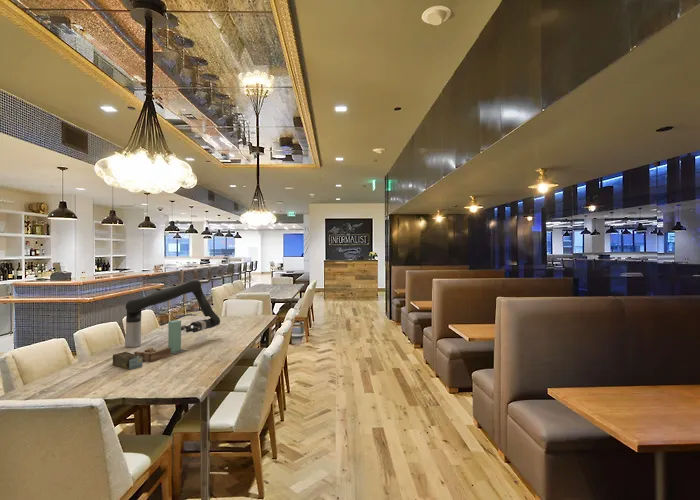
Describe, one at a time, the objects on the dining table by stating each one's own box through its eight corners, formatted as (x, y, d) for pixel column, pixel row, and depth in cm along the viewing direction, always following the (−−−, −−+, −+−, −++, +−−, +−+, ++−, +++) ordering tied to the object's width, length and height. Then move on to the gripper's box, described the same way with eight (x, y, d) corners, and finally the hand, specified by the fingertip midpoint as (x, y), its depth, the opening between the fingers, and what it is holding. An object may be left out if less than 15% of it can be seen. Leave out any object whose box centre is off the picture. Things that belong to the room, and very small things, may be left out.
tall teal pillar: (168, 352, 251) (168, 322, 251) (176, 349, 258) (176, 320, 258) (173, 352, 250) (173, 322, 250) (180, 350, 257) (181, 320, 257)
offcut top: (144, 354, 237) (144, 350, 237) (147, 351, 243) (147, 347, 243) (150, 354, 237) (150, 349, 237) (153, 351, 243) (153, 347, 243)
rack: (133, 360, 234) (133, 351, 234) (153, 353, 249) (153, 346, 249) (151, 362, 230) (151, 353, 230) (170, 355, 245) (170, 347, 245)
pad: (161, 353, 250) (161, 352, 250) (174, 349, 261) (174, 348, 261) (175, 354, 247) (175, 354, 247) (187, 350, 257) (187, 349, 257)
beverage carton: (128, 370, 215) (128, 358, 215) (111, 365, 225) (111, 353, 225) (142, 366, 221) (142, 355, 221) (125, 361, 232) (125, 350, 232)
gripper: (190, 320, 277) (173, 324, 262) (206, 321, 273) (189, 325, 257) (190, 330, 277) (173, 335, 262) (206, 331, 273) (189, 336, 257)
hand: (181, 330), depth 260 cm, fingers open, 8 cm apart
